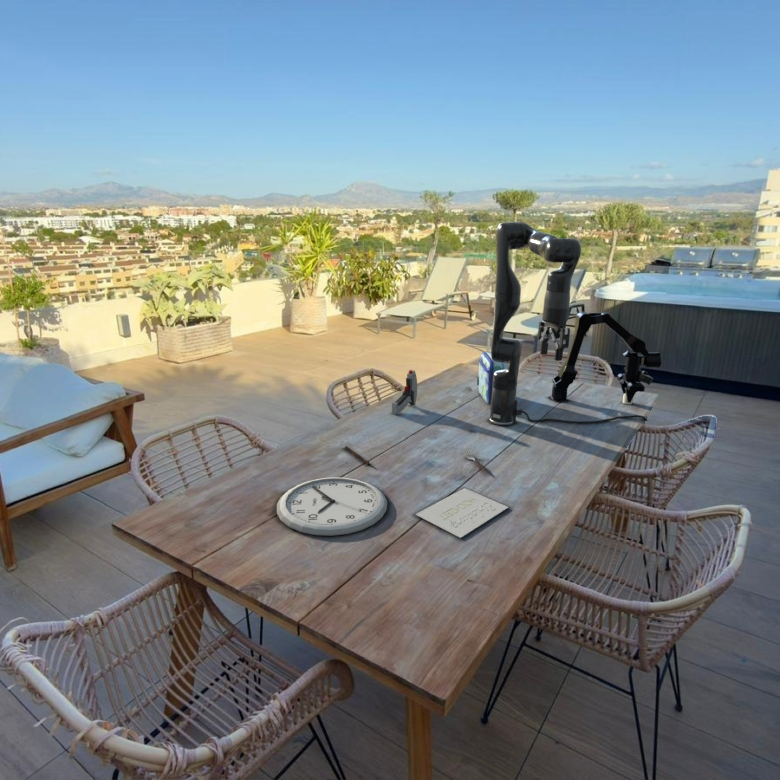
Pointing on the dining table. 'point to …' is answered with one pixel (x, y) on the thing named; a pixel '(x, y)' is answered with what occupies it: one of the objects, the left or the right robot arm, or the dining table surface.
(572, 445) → the dining table surface
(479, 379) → the lunch box
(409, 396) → the toy gun
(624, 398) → the cream short cylinder
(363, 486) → the wall clock
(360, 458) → the brown thin stick
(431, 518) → the invitation card
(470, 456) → the fork
